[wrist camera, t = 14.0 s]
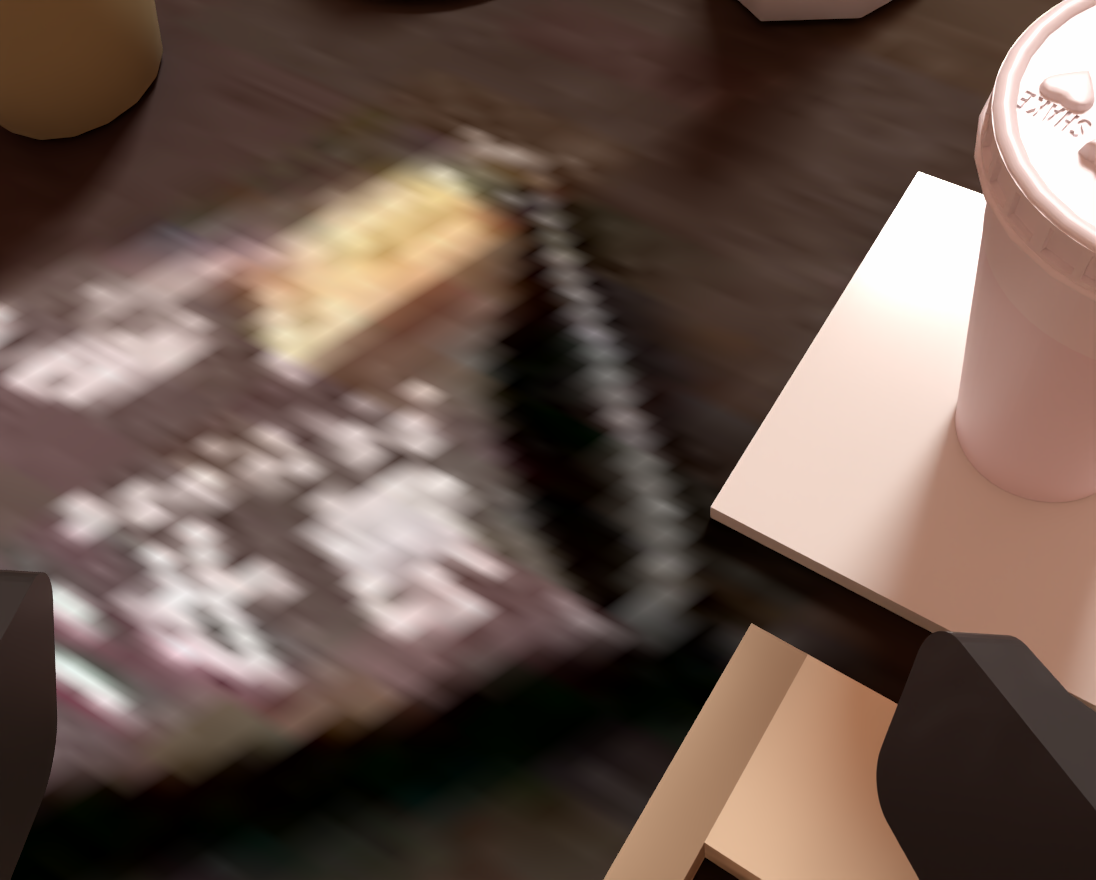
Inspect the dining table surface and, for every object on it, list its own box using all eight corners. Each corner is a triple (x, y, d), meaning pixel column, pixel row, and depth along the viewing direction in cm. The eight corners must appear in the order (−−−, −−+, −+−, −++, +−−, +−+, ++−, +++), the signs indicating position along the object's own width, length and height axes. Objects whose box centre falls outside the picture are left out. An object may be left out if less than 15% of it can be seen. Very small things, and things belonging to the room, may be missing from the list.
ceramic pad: (710, 517, 24) (710, 506, 24) (914, 186, 28) (918, 171, 27) (1209, 777, 20) (1222, 771, 20) (1372, 353, 24) (1387, 339, 23)
